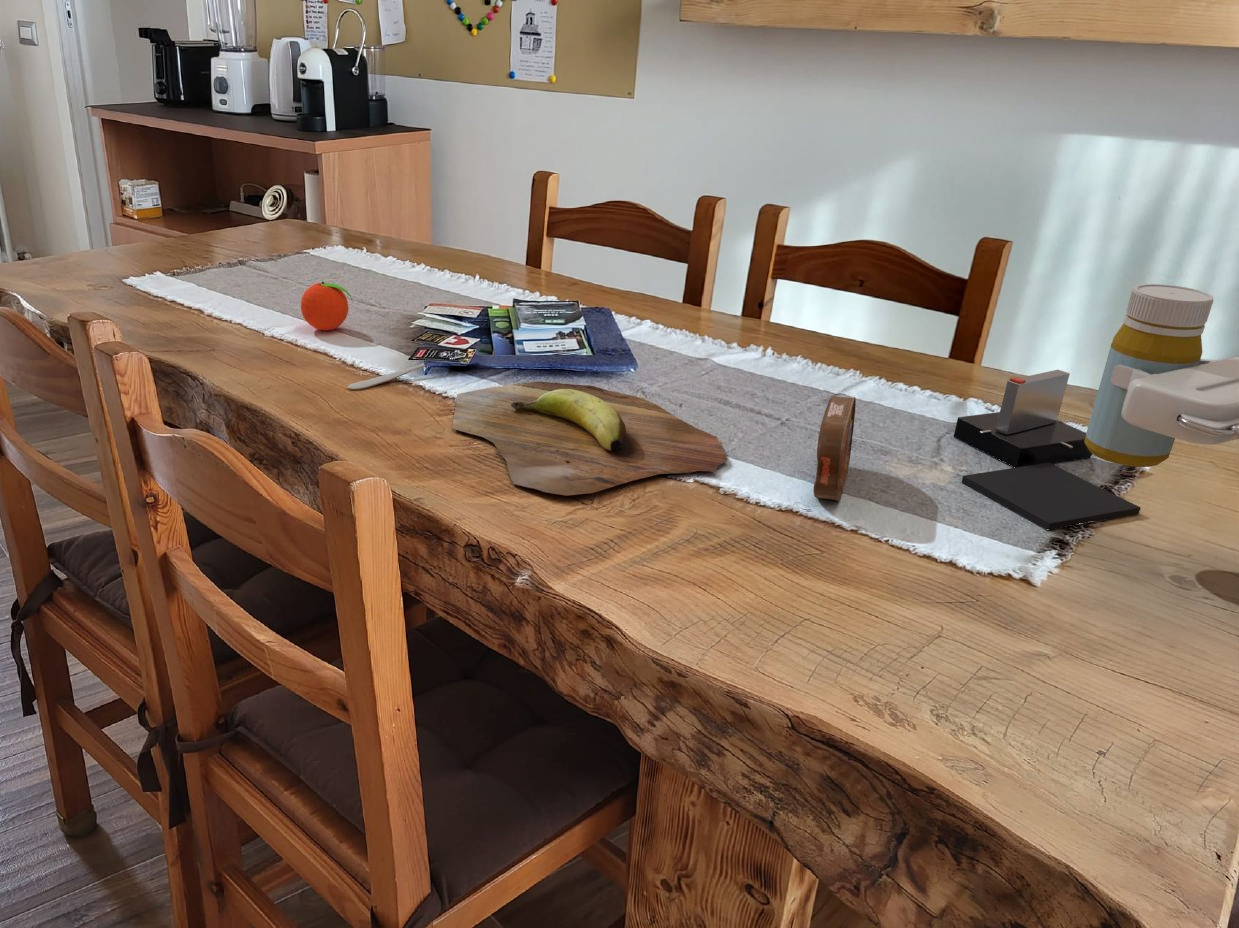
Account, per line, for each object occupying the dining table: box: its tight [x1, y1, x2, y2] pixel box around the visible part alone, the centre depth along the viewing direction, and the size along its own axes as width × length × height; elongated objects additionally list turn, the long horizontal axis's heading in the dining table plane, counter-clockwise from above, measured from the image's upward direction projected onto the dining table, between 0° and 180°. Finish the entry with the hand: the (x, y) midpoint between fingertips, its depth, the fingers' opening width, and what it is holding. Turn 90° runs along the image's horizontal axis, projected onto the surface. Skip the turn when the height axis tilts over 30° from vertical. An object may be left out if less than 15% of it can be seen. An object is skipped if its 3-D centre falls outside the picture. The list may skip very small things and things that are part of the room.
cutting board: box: [452, 381, 729, 497], centre depth 119 cm, size 35×27×4 cm
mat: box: [961, 463, 1142, 531], centre depth 107 cm, size 12×12×1 cm
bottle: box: [1084, 283, 1214, 468], centre depth 92 cm, size 7×7×15 cm
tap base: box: [953, 406, 1093, 468], centre depth 119 cm, size 13×13×3 cm
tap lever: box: [995, 369, 1071, 435], centre depth 117 cm, size 9×2×6 cm, turn 121°
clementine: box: [300, 281, 354, 332], centre depth 152 cm, size 8×7×7 cm
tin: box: [813, 396, 857, 502], centre depth 107 cm, size 15×3×8 cm, turn 160°
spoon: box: [346, 363, 426, 391], centre depth 136 cm, size 4×21×2 cm, turn 128°
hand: (1140, 367), depth 93 cm, fingers closed on bottle, 5 cm apart
